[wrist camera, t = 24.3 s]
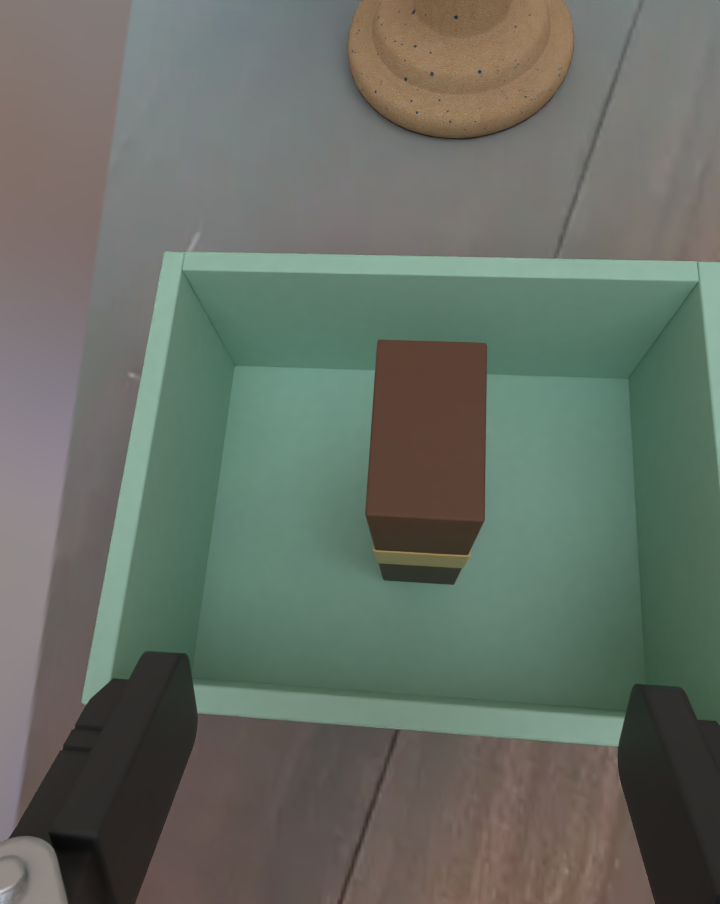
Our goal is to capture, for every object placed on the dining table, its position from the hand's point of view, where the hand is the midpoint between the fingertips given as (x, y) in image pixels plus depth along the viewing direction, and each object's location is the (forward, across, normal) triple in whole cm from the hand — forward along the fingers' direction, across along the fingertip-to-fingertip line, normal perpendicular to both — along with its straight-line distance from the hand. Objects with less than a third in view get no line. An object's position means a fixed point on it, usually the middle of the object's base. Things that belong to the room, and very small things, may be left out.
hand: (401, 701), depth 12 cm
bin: (+16, 0, +7) cm, 18 cm away
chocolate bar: (+16, 0, +6) cm, 17 cm away
